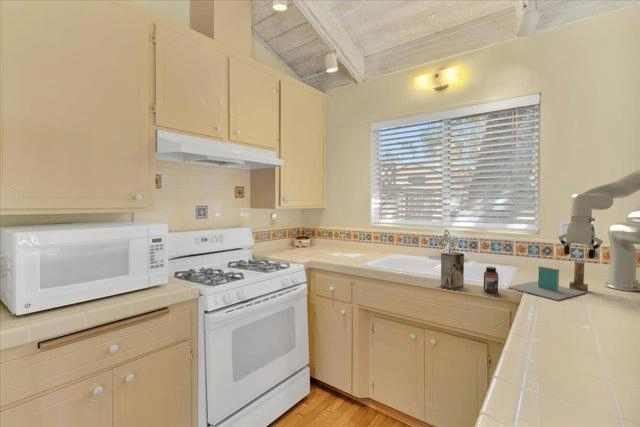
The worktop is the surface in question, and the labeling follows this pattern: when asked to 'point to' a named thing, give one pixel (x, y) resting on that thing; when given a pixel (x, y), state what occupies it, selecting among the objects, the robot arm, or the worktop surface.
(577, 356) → the worktop surface
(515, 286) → the mat
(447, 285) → the coffee box
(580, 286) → the wooden rubber stamp
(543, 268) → the tile
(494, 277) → the supplement bottle
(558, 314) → the worktop surface
